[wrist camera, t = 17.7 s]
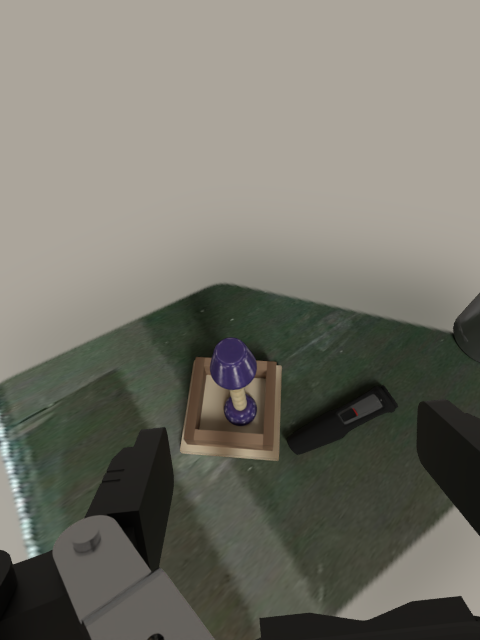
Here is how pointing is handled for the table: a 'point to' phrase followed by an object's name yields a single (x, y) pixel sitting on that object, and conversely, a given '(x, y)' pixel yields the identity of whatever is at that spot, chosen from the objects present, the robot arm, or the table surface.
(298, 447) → the electric trimmer
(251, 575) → the table surface
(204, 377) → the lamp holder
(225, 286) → the table surface
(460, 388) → the table surface
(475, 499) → the robot arm
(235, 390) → the toy lamp
